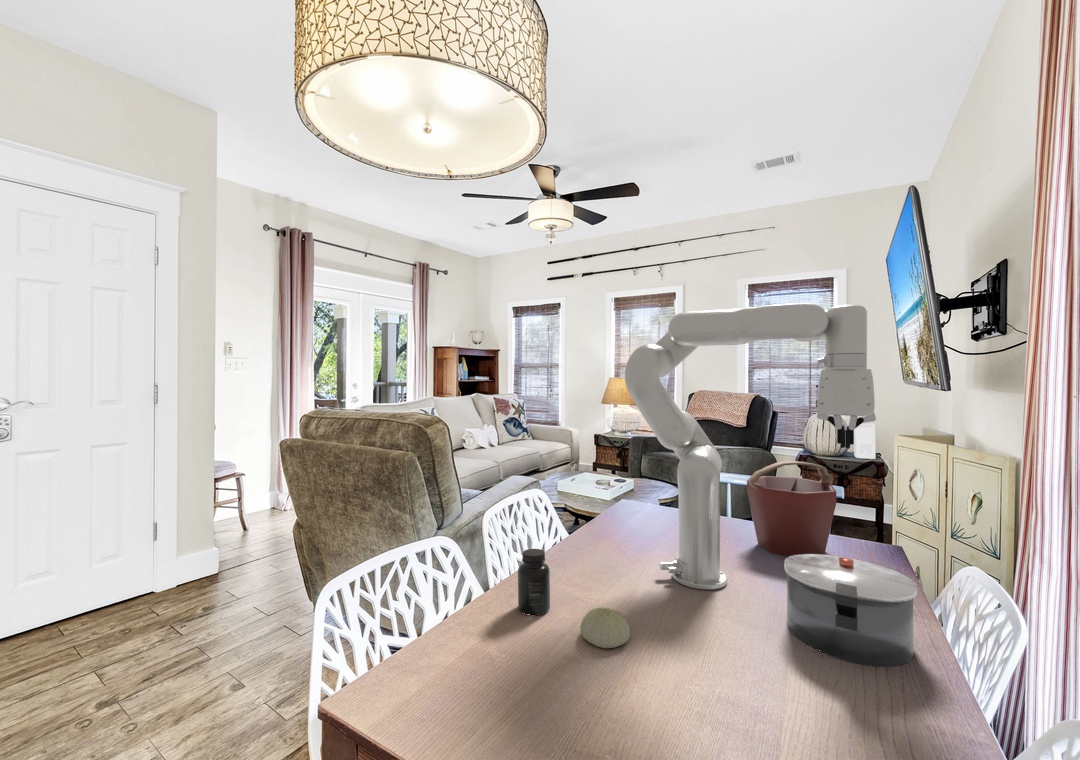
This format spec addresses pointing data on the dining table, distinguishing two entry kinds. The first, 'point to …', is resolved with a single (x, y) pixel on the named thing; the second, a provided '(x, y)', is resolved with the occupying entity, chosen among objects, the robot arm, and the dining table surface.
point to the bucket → (792, 510)
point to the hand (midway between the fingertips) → (845, 447)
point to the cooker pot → (851, 626)
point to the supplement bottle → (533, 583)
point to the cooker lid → (850, 579)
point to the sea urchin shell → (605, 628)
